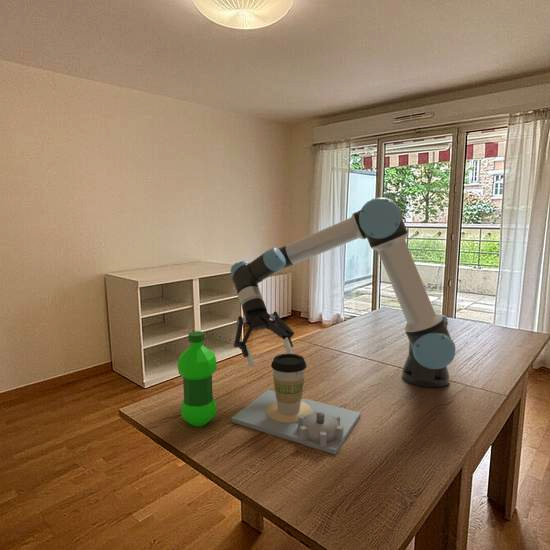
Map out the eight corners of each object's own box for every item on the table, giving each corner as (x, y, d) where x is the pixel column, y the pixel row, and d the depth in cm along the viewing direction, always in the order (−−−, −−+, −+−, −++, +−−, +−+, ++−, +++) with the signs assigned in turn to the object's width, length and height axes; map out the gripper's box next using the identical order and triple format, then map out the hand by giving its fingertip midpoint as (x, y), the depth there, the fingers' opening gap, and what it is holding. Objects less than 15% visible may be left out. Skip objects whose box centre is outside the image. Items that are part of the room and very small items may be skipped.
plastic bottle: (195, 436, 99) (192, 342, 95) (172, 421, 106) (168, 333, 102) (225, 421, 106) (223, 333, 103) (202, 408, 114) (200, 325, 110)
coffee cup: (281, 421, 103) (281, 368, 101) (265, 406, 112) (265, 356, 109) (312, 413, 107) (313, 361, 105) (294, 398, 116) (295, 350, 114)
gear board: (360, 416, 109) (361, 395, 108) (334, 455, 91) (335, 431, 90) (268, 392, 123) (268, 374, 122) (230, 422, 106) (230, 401, 105)
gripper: (281, 305, 137) (303, 360, 126) (213, 313, 125) (231, 374, 115) (289, 293, 131) (312, 349, 120) (218, 301, 120) (237, 364, 109)
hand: (272, 362), depth 118 cm, fingers open, 13 cm apart
